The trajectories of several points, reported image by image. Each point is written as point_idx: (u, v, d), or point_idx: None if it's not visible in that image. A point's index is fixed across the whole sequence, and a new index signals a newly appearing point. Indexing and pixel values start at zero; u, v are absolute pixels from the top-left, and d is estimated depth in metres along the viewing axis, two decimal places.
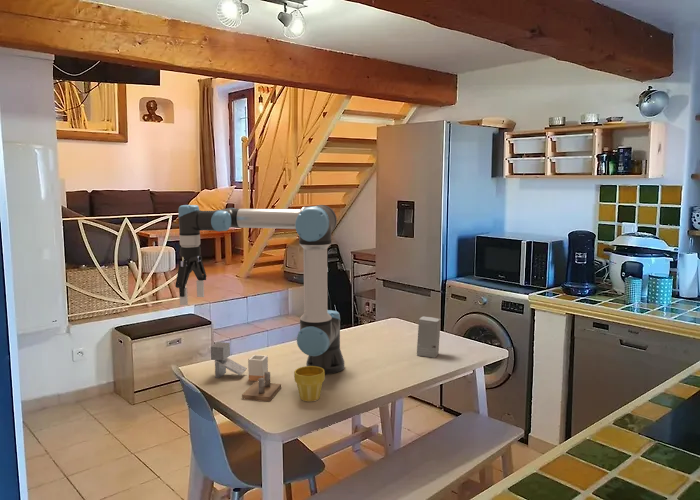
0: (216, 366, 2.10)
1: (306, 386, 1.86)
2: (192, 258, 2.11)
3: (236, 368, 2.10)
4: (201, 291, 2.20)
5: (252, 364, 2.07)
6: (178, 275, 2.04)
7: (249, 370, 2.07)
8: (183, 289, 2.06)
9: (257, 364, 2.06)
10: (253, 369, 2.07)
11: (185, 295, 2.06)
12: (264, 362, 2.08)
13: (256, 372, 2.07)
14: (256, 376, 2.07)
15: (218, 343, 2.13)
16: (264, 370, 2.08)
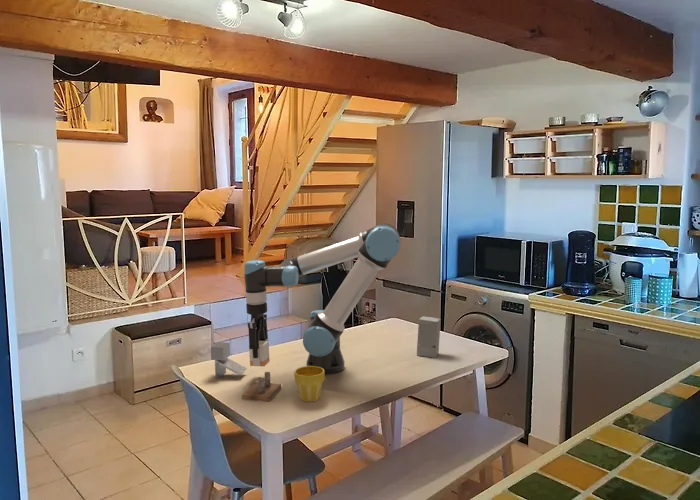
0: (216, 366, 2.10)
1: (306, 386, 1.86)
2: (259, 315, 2.06)
3: (236, 368, 2.10)
4: None
5: None
6: (249, 338, 2.02)
7: (250, 355, 2.06)
8: (256, 350, 2.04)
9: None
10: None
11: (258, 356, 2.05)
12: (265, 347, 2.07)
13: None
14: None
15: (218, 343, 2.13)
16: (265, 355, 2.07)
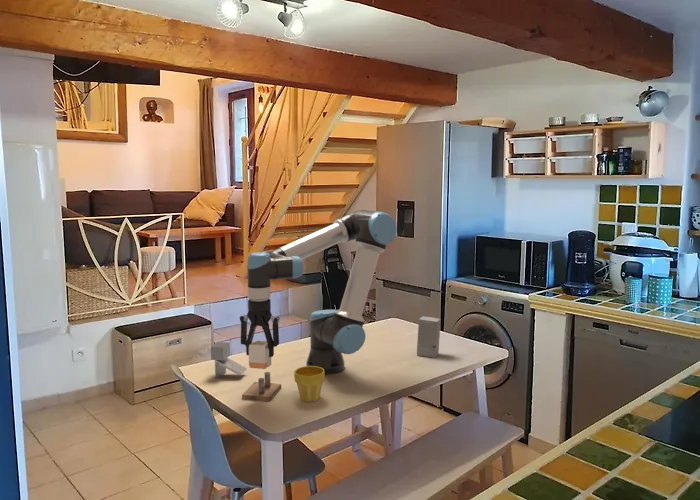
0: (216, 366, 2.10)
1: (306, 386, 1.86)
2: (256, 312, 1.87)
3: (236, 368, 2.10)
4: None
5: None
6: None
7: None
8: (247, 347, 1.90)
9: None
10: None
11: None
12: (255, 349, 1.87)
13: None
14: None
15: (218, 343, 2.13)
16: (254, 358, 1.88)
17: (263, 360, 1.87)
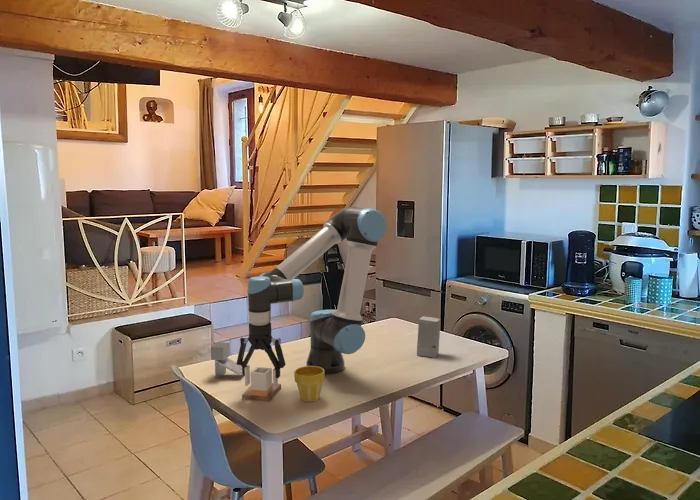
0: (216, 366, 2.10)
1: (306, 386, 1.86)
2: (257, 336, 1.89)
3: (236, 368, 2.10)
4: None
5: None
6: None
7: None
8: (243, 368, 1.92)
9: None
10: None
11: (245, 375, 1.91)
12: (256, 377, 1.89)
13: None
14: None
15: (218, 343, 2.13)
16: (256, 385, 1.89)
17: (264, 388, 1.89)
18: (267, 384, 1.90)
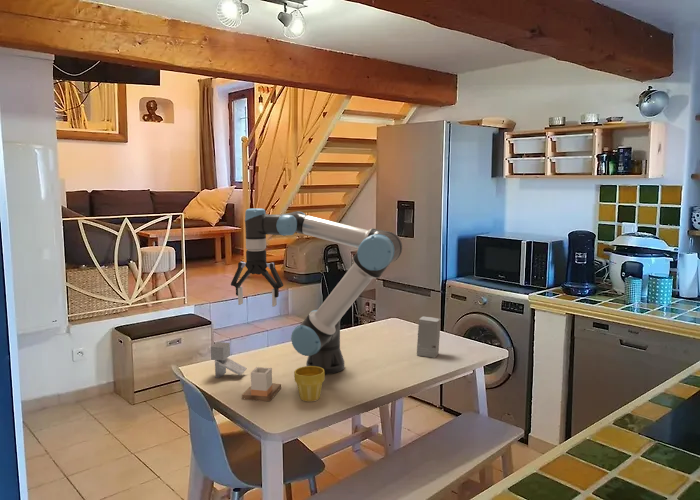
0: (216, 366, 2.10)
1: (306, 386, 1.86)
2: (253, 262, 2.09)
3: (236, 368, 2.10)
4: None
5: None
6: None
7: None
8: (237, 288, 2.12)
9: None
10: None
11: None
12: (256, 377, 1.89)
13: None
14: None
15: (218, 343, 2.13)
16: (256, 385, 1.89)
17: (264, 388, 1.89)
18: (267, 384, 1.90)
